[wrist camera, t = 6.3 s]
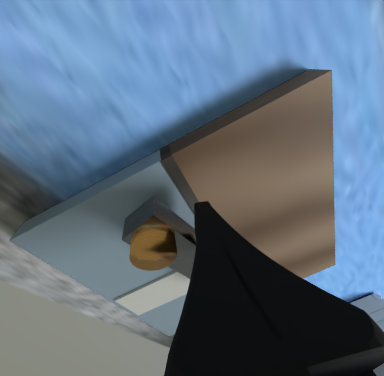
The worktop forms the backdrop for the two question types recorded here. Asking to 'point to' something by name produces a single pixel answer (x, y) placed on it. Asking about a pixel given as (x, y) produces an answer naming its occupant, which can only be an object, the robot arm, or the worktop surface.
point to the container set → (372, 308)
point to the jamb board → (269, 171)
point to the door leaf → (113, 242)
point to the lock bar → (159, 238)
